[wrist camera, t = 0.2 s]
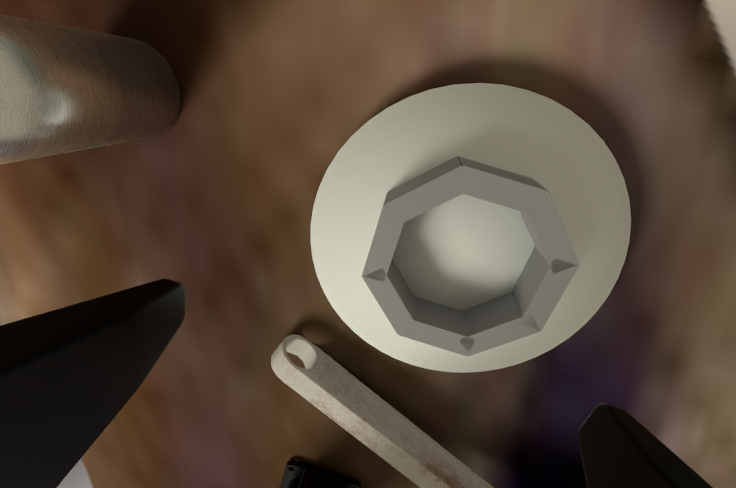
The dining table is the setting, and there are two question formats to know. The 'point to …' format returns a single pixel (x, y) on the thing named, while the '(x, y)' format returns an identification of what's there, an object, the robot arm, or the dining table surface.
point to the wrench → (369, 417)
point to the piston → (78, 90)
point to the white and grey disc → (470, 227)
